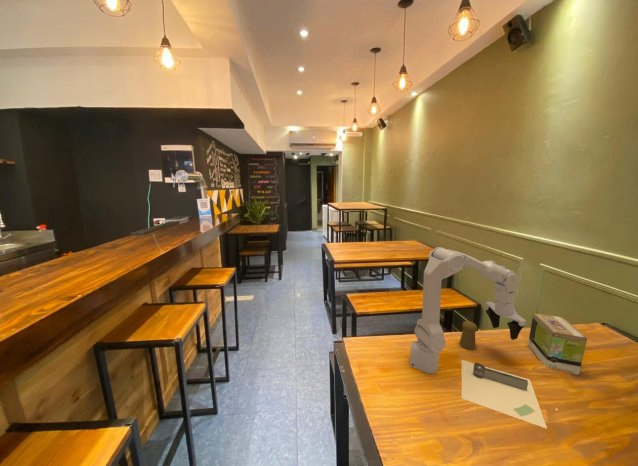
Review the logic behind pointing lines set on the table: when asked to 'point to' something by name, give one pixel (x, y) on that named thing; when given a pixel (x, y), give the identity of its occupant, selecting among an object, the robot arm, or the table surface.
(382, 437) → the table surface
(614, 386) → the table surface
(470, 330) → the cork
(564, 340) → the tea box
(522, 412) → the dial board
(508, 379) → the pointer
